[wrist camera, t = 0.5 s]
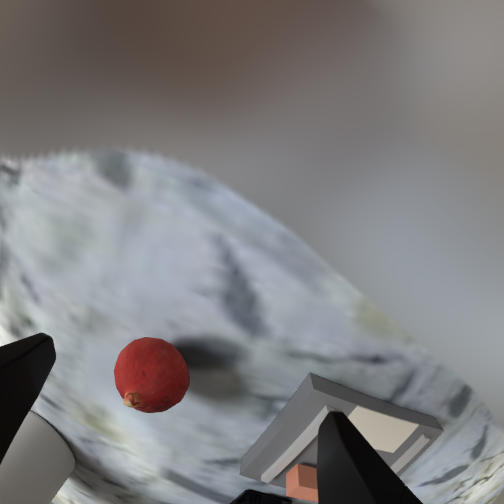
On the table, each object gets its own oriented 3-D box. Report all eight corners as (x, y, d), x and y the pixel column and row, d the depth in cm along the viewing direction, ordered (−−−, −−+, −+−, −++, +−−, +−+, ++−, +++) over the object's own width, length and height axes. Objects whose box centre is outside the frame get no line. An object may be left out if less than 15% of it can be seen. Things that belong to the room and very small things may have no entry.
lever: (363, 489, 22) (368, 507, 19) (285, 474, 22) (286, 496, 19) (375, 479, 22) (381, 498, 19) (297, 463, 21) (298, 485, 19)
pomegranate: (212, 360, 24) (190, 419, 16) (169, 391, 24) (139, 447, 16) (164, 310, 23) (120, 353, 15) (125, 346, 24) (79, 391, 16)
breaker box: (364, 487, 25) (369, 505, 22) (241, 458, 25) (238, 480, 22) (434, 417, 23) (446, 434, 20) (309, 372, 23) (314, 394, 20)
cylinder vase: (42, 460, 29) (-26, 543, 5) (3, 401, 28) (-87, 478, 3) (91, 474, 28) (22, 584, 3) (47, 409, 27) (-60, 518, 2)
